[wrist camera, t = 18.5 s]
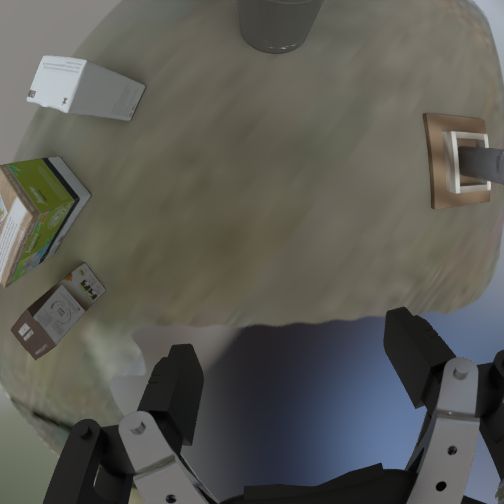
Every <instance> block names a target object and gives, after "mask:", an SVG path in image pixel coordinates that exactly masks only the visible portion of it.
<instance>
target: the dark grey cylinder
mask: <svg viewBox="0 0 504 504" xmlns="http://www.w3.org/2000/svg"><path fill="white" fill-rule="evenodd" d="M458 160H459V174H461V175H463V176H467V177H472V178H477V179H482V180H486V181H490V182H495V183H499V184H503V185H504V149H494V148H483V147H469V146H460V147H459V148H458Z"/></svg>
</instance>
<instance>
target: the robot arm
mask: <svg viewBox="0 0 504 504" xmlns="http://www.w3.org/2000/svg"><path fill="white" fill-rule="evenodd" d="M323 1H324V0H238V9H239V18H240V26H241V32H242V35H243V37H244V39H245V40H246V41H247V42H248V43H249V44H250V45H252V46H253V47H255V48H257V49H259V50H261V51H264V52H269V53H284V52H289V51H292V50H294V49H296V48H297V47H299V46H300V45H301V44H302V43H303V42H304V40H305V38H306V37H307V34H308V32H309V30H310V28H311V26H312V24H313V22H314V20H315V18H316V16H317V14H318V11H319V9H320V7H321V5H322V3H323ZM383 342H384V349H385V352H386V354H387V356H388V357H389V360H390V361H391V363H392V365H393V366H394V369H395V370H396V372H397V374H398V376H399V378H400V380H401V382H402V384H403V385H404V387H405V389H406V391H407V393H408V395H409V397H410V399H411V401H412V403H413V405H414V407H415V409H417V408H419V407H422V406H424V405H425V406H426V408H427V411H426V414H425V417H424V421H423V424H422V427H421V431H420V434H419V437H418V440H417V443H416V445H415V448H414V451H413V453H412V455H411V457H410V459H409V461H408V463H407V465H406V468H405V470H400V469H383V467H382V463H378V464H375V465H372V466H369V467H365V468H362V469H358V470H354V471H351V472H348V473H346V474H344V475H341V476H339V477H337V478H335V479H332V480H330V481H328V482H325V483H323V484H321V485H318V486H313V487H308V486H294V485H283V484H274V485H260V486H244V493H243V494H239V495H236V496H233V497H230V498H228V499H226V500H224V501H222V502H220V503H219V502H218V501H217V500H216V498H215V497H214V496H213V495H212V494H211V493H210V492H209V491H208V490H207V489H206V487H205V486H204V485H203V483H202V482H201V481H200V479H199V478H198V477H197V475H196V474H195V473H194V471H193V470H192V469H191V467H190V466H189V464H188V463H187V462H186V460H185V458H184V457H183V455H182V454H181V453H180V452H181V448H182V445H187V446H192V442H193V437H194V431H195V426H196V421H197V415H198V410H199V405H200V400H201V395H202V390H203V385H204V375H203V371H202V368H201V365H200V363H199V361H198V358H197V356H196V353H195V351H194V348H193V346H192V345H191V344H179V345H172V347H171V349H170V352H169V355H168V357H163V358H162V359H161V360H160V361H159V362H158V363H157V364H156V365H155V367H154V369H153V372H152V374H151V377H150V379H149V381H148V384H147V386H146V389H145V391H144V394H143V397H142V399H141V401H140V404H139V407H138V409H137V411H136V412H132V413H130V414H128V415H126V416H125V417H124V418H123V419H122V420H121V422H120V424H119V425H114V426H107V427H100V425H99V424H98V423H97V422H96V421H94V420H92V419H84V420H81V421H79V422H78V423H76V424H75V425H74V426H73V428H72V430H71V432H70V434H69V436H68V439H67V441H66V443H65V446H64V448H63V450H62V453H61V455H60V458H59V460H58V463H57V465H56V468H55V471H54V473H53V476H52V479H51V481H50V484H49V487H48V490H47V492H46V495H45V499H44V501H43V504H128V502H129V497H130V492H131V487H132V482H133V479H134V482H135V484H136V486H137V488H138V490H139V492H140V494H141V496H142V498H143V500H144V502H145V504H486V503H483V502H481V501H478V500H475V499H472V498H470V497H467V496H464V491H465V488H466V485H467V481H468V478H469V474H470V470H471V467H472V462H473V458H474V453H475V448H476V443H477V438H478V432H479V430H480V432H481V434H482V437H483V439H484V441H485V443H486V445H487V447H488V450H489V452H490V454H491V457H492V459H493V461H494V464H495V466H496V469H497V471H498V474H499V477H500V479H501V481H500V483H499V486H498V491H497V492H496V495H495V499H496V500H497V501H498V504H504V403H503V401H504V350H502V351H500V352H498V353H497V354H496V356H495V358H494V361H493V362H492V363H487V364H481V365H476V364H475V363H474V362H473V361H472V360H470V359H468V358H464V357H456V356H455V354H454V353H453V352H452V350H451V349H450V348H449V347H448V345H447V344H446V343H445V342H444V341H443V340H442V338H441V337H440V336H438V333H437V332H436V331H435V330H433V328H432V326H431V325H430V324H429V323H428V322H427V321H426V320H425V319H423V318H421V317H419V316H418V315H415V316H413V315H412V314H411V313H410V312H409V311H408V309H407V308H406V307H400V308H396V309H393V310H389V311H387V313H386V321H385V331H384V341H383ZM99 466H100V469H99V472H98V476H97V479H96V482H95V486H93V485H94V480H95V477H96V473H97V470H98V467H99ZM134 473H136V474H134Z"/></svg>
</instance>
